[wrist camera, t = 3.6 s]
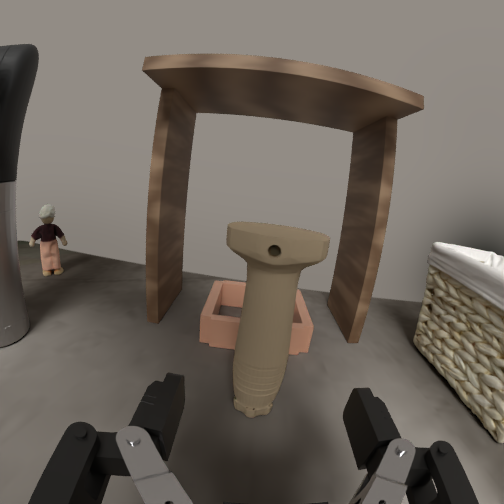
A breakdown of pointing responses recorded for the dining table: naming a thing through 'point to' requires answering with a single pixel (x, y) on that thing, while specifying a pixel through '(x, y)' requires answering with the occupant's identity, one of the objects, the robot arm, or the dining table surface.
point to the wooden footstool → (285, 108)
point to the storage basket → (466, 328)
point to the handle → (268, 306)
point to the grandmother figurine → (49, 241)
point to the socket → (226, 328)
